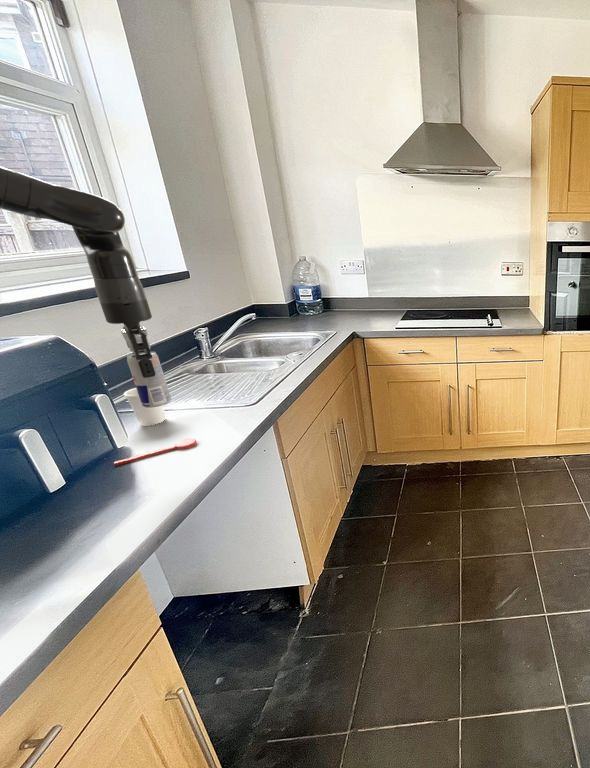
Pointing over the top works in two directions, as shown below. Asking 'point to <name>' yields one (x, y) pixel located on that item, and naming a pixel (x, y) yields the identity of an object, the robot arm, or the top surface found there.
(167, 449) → the spoon
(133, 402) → the dixie cup
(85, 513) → the top surface
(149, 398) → the energy drink
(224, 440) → the top surface
